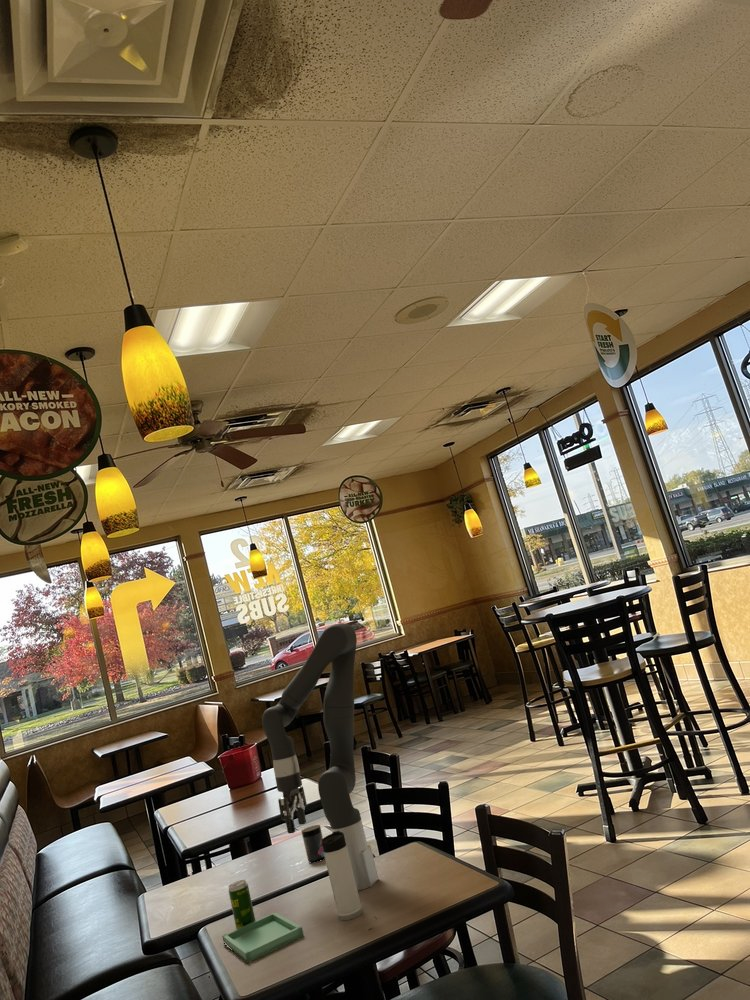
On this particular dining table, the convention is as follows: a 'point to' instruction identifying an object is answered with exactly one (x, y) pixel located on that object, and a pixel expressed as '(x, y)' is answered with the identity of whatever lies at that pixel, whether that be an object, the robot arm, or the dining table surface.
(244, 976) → the dining table surface
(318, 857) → the supplement container
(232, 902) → the beer can
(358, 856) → the robot arm
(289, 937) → the tray
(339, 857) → the travel mug
